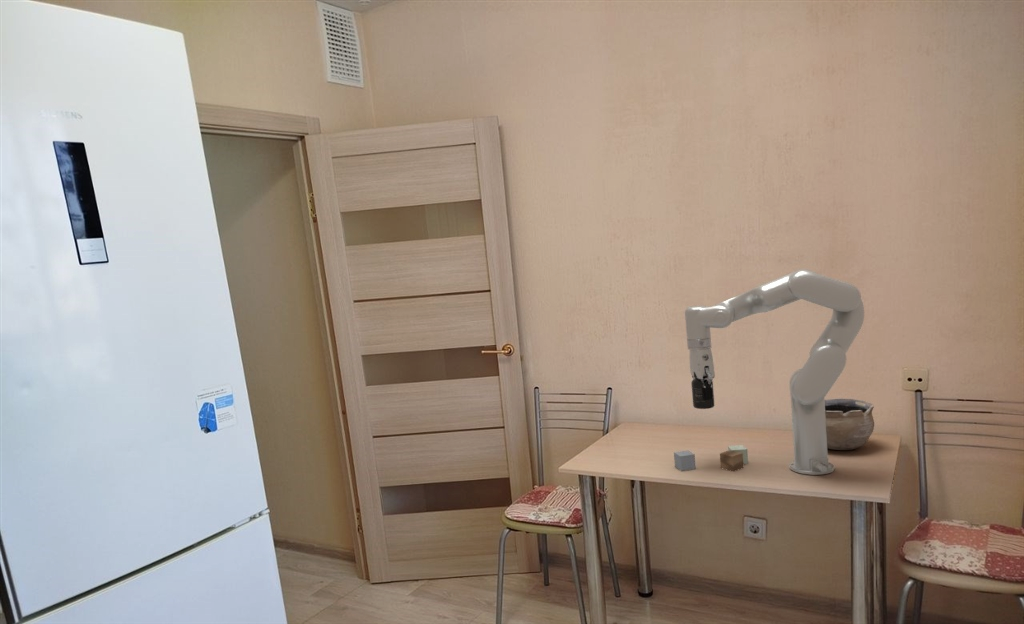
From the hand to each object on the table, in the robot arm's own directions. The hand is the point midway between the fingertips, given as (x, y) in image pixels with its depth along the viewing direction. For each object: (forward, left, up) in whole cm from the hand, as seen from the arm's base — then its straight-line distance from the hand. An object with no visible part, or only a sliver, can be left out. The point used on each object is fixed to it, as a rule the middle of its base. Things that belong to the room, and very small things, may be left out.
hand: (703, 397), depth 210 cm
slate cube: (+1, +8, -23) cm, 24 cm away
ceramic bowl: (+4, -48, -23) cm, 53 cm away
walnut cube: (-5, -6, -23) cm, 24 cm away
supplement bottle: (0, 0, -4) cm, 4 cm away
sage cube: (0, -10, -23) cm, 25 cm away
